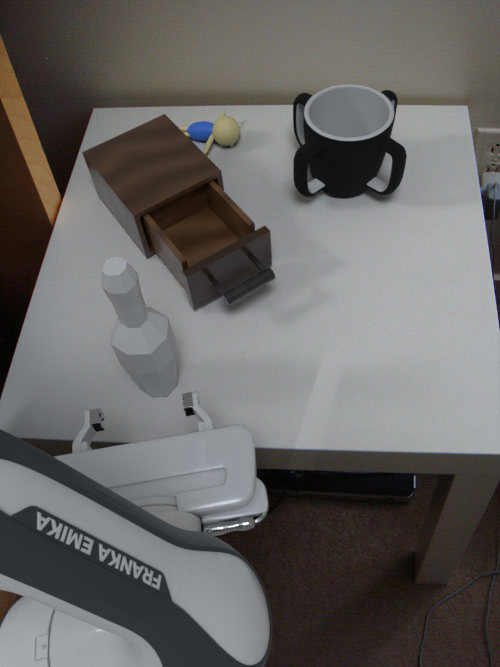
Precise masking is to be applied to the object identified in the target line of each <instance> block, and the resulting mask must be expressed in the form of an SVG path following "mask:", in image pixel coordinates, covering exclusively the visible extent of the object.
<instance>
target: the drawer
mask: <svg viewBox="0 0 500 667" xmlns="http://www.w3.org/2000/svg"><path fill="white" fill-rule="evenodd" d="M140 220H141V223H142V226H143V229H144V233H145V236H146V239H147V242H148V243H149V244H150V245H151V247H152V248H153V249H154V250H155V252H156V253H157V254H156V255H158V257H159V258H160V259H161V261H162V262H163V263H164V264H165V266H166V267H167V268H168V269H169V270H170V272H171V273H172V274H173V275H174V277H175V278H176V279H177V281H178V282H179V283H180V284H181V286H182V287H183V288H184V290H186V295H187V298H188V302H189V305H190V307H191V308H192V309H193V310H197V309H199V308H201V307H202V306H204V305H205V304H208V303H209V302H211V301H213V300H215V299H216V298H218V297H220V296H221V298H222V301H223V302H224V304H225V305H226V306H227V307H229V306H231V305H233V304H235V303H236V302H238V301H240V300H241V299H243V298H245V297H247V296H249V295H250V294H252V293H253V292H255V291H257V290H260V289H261V288H262V287H264V286H265V285H267V284H270V283H271V282H273V281H274V280H275V279H276V274H275V272H274V270H273V269H272V268H271V267H272V266H273V257H272V238H271V229H269V228H268V227H267V225H263V226H261V227H259V228H257V229H256V225H255V222H254V220H252V218H250V216H248V214H246V212H244V210H243V209H242V208H241V207H240V206H239V205H238V204H237V203H236V202H235V201H234V200H233V199H232V198H231V197H230V196H229V195H228V194H227V193H226V192H225V190H224V191H223V190H222V189H221V188H220V187H219V186H218V185H217V184H216V183H215V182H214V181H213V180H211V181H210V182H208V183H206V184H204V185H202V186H200V187H198V188H196V189H194V190H192V191H190V192H188V193H186V194H184V195H182V196H180V197H178V198H176V199H174V200H172V201H170V202H169V203H167V204H165V205H163V206H161V207H159V208H157V209H155V210H153V211H151V212H149V213H147V214H145V215H143V216H141V217H140Z"/></svg>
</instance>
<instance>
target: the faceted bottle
mask: <svg viewBox="0 0 500 667" xmlns="http://www.w3.org/2000/svg"><path fill="white" fill-rule="evenodd" d="M134 268H135V267H133V266H132V265H131V264H130V263H129V262H128V260H126V259H124V258H122V257H121V256H113V257H111V256H110V257H109V258H108V259H107V260H105V261H104V262H103V263H102V268H101V289H102V291H103V292H104V293H105V295H106V297H107V298H108V300H109V301H110V303H111V305H112V307H113V309H114V311H115V313H116V316H117V319H116V320H115V321H114V322H113V323H112V327H111V328H112V329H111V336H110V343H109V344H110V346H111V348H112V350H113V352H114V354H115V356H116V358H117V361H118V362H119V364H120V366H121V367H122V368H123V370H125V371H126V373H127V374H128V375H129V376H130V378H131V379H132V381H134V383H135V384H136V385H137V387H138V388H139V389H140V390H141V391H142V392H144V393H145V394H146V395H148V396H149V397H150V398H167V397H168V396H169V395H170V394H171V393H172V392H173V391H174V390H175V389H176V388H177V387H178V379H179V378H178V377H179V368H178V358H177V348H176V338H175V335H174V331H173V328H172V324H171V321H170V319H169V317H167V316H166V315H164V314H163V313H161V312H160V311H158V310H156V309H155V308H153V307H152V306H147V304H146V302H145V299H144V296H143V293H142V288H141V283H140V277H139V273H138V272H137V270H136V269H134Z"/></svg>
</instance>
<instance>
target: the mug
mask: <svg viewBox="0 0 500 667" xmlns="http://www.w3.org/2000/svg"><path fill="white" fill-rule="evenodd" d="M398 102H399V100H398V96H397V94H396V93H395V92H394V91H393V90H390V89H385V90H382V91H380V90H377V89H375V88H372V87H370V86H367V85H362V84H355V83H345V84H337V85H332V86H328V87H326V88H322V89H321V90H319V91H317V92H316V93H314V94H310V93H308V92H301V93H300V94H298V95H296V97H295V98H294V100H293V104H292V126H293V132H294V137H295V138H296V141H297V143H298V145H299V146H300V147H298V148H297V149H296V151H295V153H294V156H293V166H292V168H293V170H292V171H293V172H292V174H293V183H294V187H295V189H296V191H297V192H298V193H299V194H300V195H301V196H302V197H305V198H312V197H314V196H316V195H318V194H319V193H321V192H323V193H325V194H327V195H329V196H332V197H336V198H351V197H355V196H358V195H361V194H363V193H364V192H366V191H368V190H370V191H371V192H373V193H375V194H377V195H379V196H383V197H384V196H385V197H386V196H389V195H391V194H393V193H394V192H395V191H396V190H397V189H398V188H399V186H401V183H402V181H403V178H404V174H405V169H406V164H407V157H408V156H407V150H406V148H405V147H404V145H402V144H401V143H400V142H397V141H396V140H395V139H393V138H392V137H391V136H392V134H393V128H394V126H395V120H396V114H397V108H398ZM386 154H388V155H389V156H390V157H391V168H390V173H389V178H388V182H386V181H384V180H382V179H381V178H378V174H379V172H380V170H381V169H382V166H383V163H384V160H385V157H386ZM309 173H310V176H311V179H312V180H310V181H309V179H308V178H309V177H308V176H309Z"/></svg>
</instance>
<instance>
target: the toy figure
mask: <svg viewBox="0 0 500 667" xmlns="http://www.w3.org/2000/svg"><path fill="white" fill-rule="evenodd" d="M176 126H177V127H178V128H179V129H180V130H181V131H182V132H183V133H184V134H185V135H186V136H187V137H188V138H189V139H192V140H195V141H199V142H205V141H206V143H205V145H204V146H203V147H204V148H203V150H202V152H203V153H204V154H205V155H206V156H207V154H208V152H209V150H210V148H211V147H212V144H213V143H214V141H215V142H216V143H217V144H219V145H220V146H224V147H231V148H233V147H234V146H235V144H236V143H237V141H238V140H239V138H240V137H241V127H240V124H239V122H238V121H237V120H236V119H235V118H234V117H232V116H227V115H226V110H223V111H222V112H221V113H220V115H219V117H218V118H217V119H216V120H215V121H214V123H213V122H210V121H206V120H205V121H204V120H203V121H202V120H200V121H195V122H194V123H191V124H190V125H183V126H178V125H176Z"/></svg>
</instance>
